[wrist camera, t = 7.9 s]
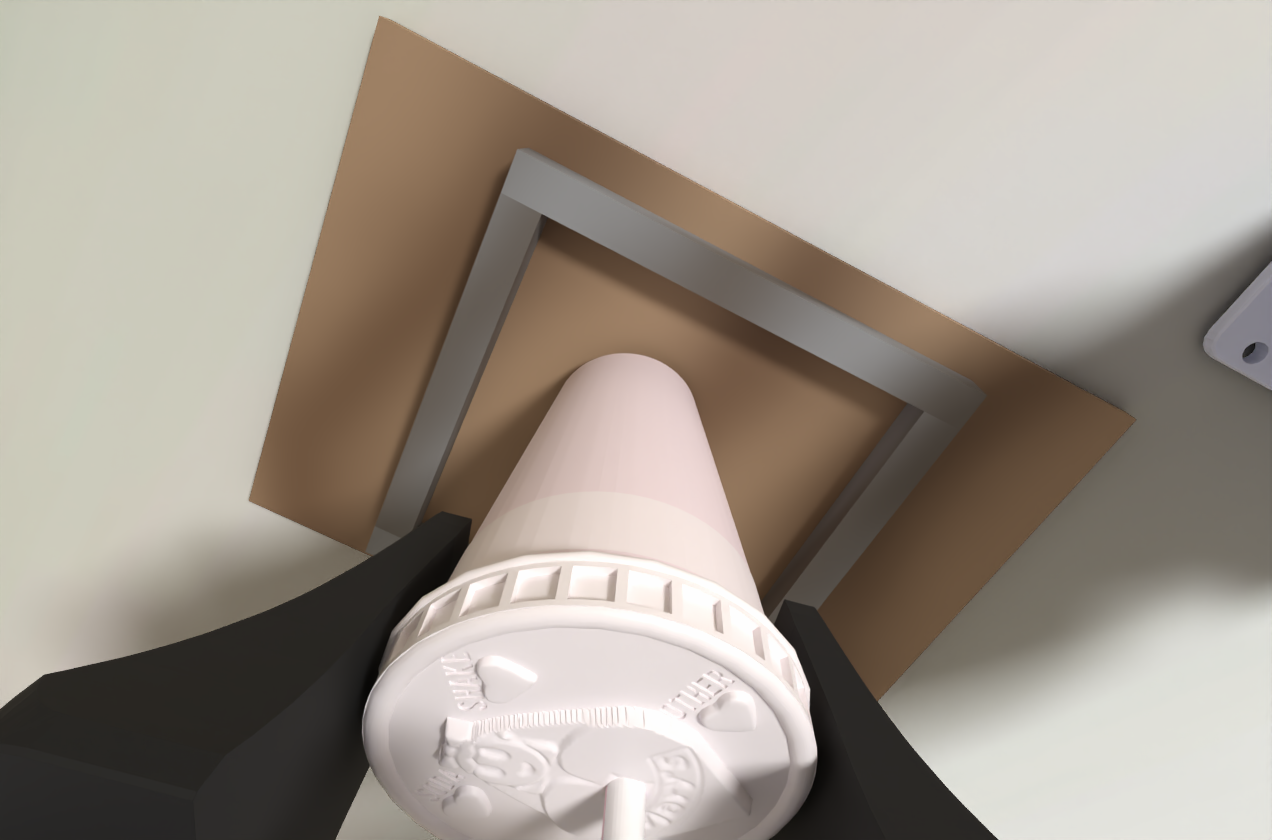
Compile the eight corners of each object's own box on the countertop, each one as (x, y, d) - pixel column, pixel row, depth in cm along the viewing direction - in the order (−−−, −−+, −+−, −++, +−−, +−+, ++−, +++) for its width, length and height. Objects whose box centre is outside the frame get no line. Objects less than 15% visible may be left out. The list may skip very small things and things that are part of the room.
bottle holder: (1125, 411, 17) (1161, 436, 15) (820, 747, 23) (827, 788, 21) (389, 18, 15) (357, 8, 14) (258, 492, 21) (226, 518, 19)
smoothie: (701, 536, 19) (755, 1363, 7) (485, 481, 19) (159, 1295, 7) (788, 343, 16) (1125, 1252, 4) (530, 268, 16) (62, 1100, 4)
